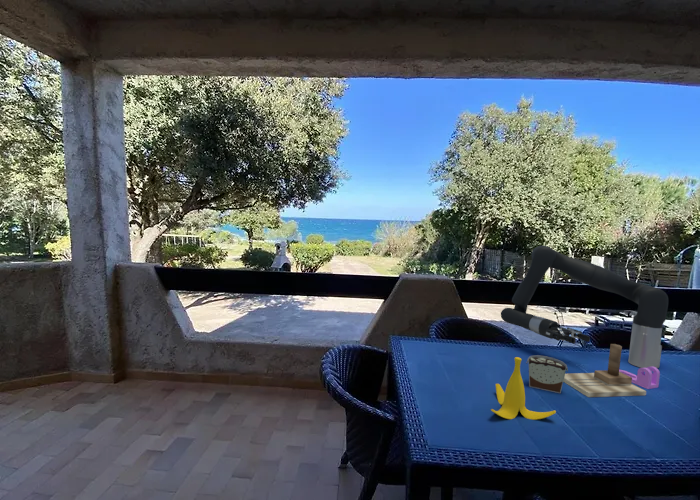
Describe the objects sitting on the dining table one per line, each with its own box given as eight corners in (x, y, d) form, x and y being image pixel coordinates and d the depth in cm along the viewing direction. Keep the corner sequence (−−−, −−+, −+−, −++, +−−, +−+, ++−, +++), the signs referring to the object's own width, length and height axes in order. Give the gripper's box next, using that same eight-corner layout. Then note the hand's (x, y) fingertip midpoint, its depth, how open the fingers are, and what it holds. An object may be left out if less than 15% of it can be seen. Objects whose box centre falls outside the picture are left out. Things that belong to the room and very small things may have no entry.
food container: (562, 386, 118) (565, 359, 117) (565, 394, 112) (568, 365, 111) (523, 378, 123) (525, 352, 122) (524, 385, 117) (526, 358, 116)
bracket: (658, 387, 120) (660, 369, 120) (647, 389, 119) (650, 370, 118) (619, 371, 133) (621, 354, 132) (609, 373, 131) (611, 356, 130)
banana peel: (497, 392, 112) (501, 343, 110) (556, 422, 96) (562, 366, 95) (464, 405, 103) (468, 352, 102) (524, 440, 87) (529, 378, 86)
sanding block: (615, 377, 123) (619, 342, 122) (631, 385, 117) (635, 348, 116) (593, 377, 122) (597, 342, 121) (608, 385, 116) (612, 348, 115)
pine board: (608, 376, 128) (609, 372, 128) (645, 395, 114) (646, 391, 114) (556, 377, 125) (557, 373, 125) (588, 397, 111) (588, 392, 111)
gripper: (533, 319, 141) (571, 332, 126) (556, 317, 147) (595, 329, 132) (531, 336, 142) (568, 351, 127) (554, 334, 147) (592, 347, 132)
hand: (582, 340), depth 129 cm, fingers open, 8 cm apart
